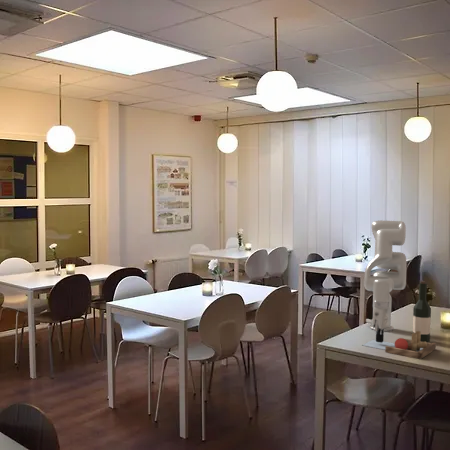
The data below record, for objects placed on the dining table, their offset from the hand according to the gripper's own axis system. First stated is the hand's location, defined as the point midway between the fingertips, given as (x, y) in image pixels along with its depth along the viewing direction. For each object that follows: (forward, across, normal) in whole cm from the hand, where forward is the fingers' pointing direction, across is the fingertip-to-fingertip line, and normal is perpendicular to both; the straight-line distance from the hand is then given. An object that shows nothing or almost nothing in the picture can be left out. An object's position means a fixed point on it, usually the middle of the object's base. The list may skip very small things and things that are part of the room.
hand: (379, 341), depth 265 cm
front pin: (0, 0, -14) cm, 14 cm away
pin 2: (+2, +2, -18) cm, 18 cm away
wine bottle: (+2, +22, -13) cm, 26 cm away
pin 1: (+2, -2, -18) cm, 18 cm away
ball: (-2, -4, -12) cm, 13 cm away
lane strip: (+2, 0, -8) cm, 8 cm away
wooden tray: (+2, 0, -15) cm, 15 cm away
